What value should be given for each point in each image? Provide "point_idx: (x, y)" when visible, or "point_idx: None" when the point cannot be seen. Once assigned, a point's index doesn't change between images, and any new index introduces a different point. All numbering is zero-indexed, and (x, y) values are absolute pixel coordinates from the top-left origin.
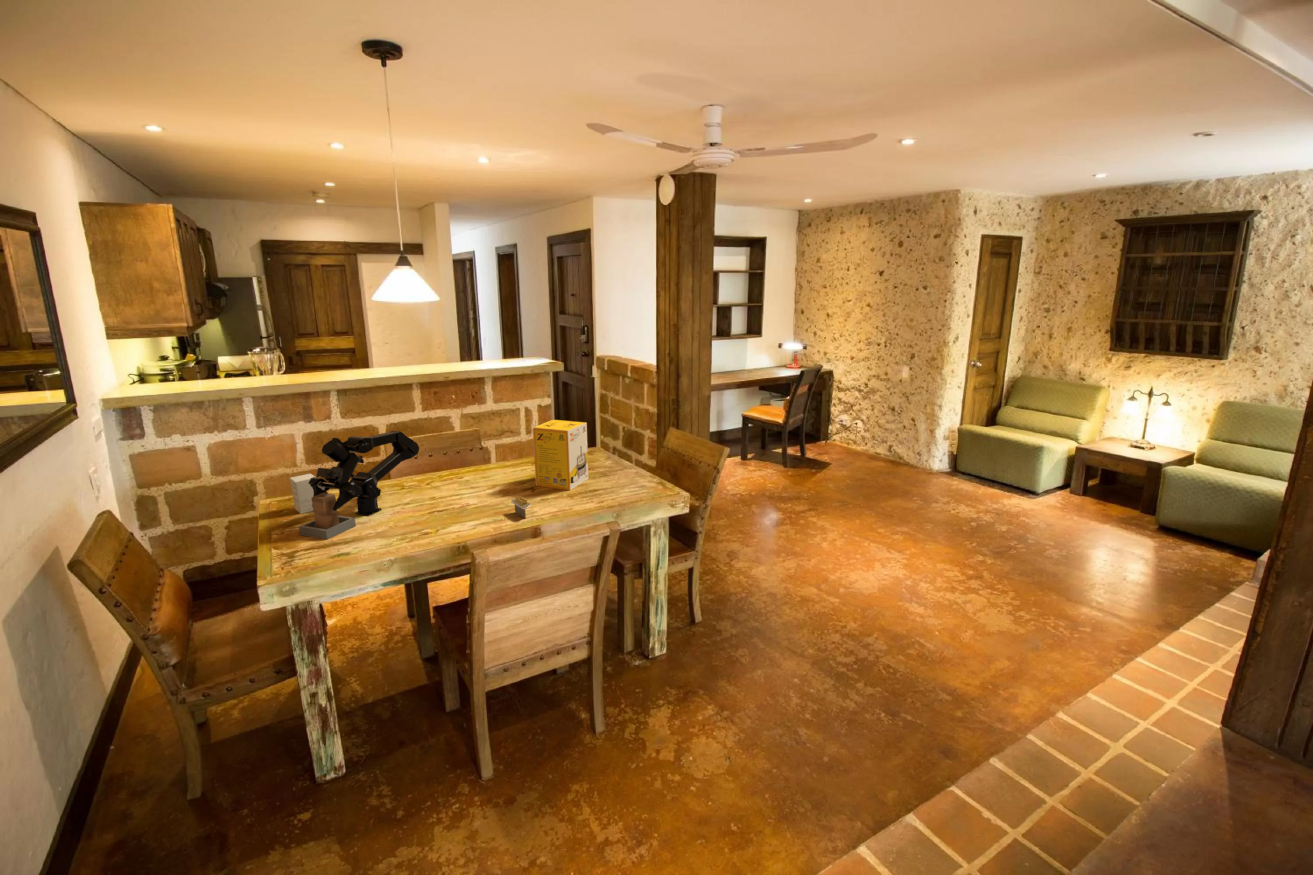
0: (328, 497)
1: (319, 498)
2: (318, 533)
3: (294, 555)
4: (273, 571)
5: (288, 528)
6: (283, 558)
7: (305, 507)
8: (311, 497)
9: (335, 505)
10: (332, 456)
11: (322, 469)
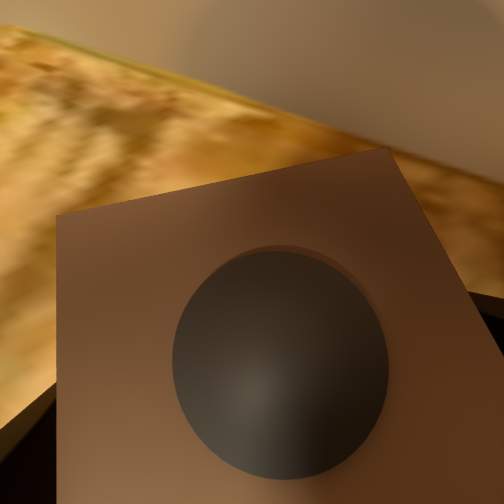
0: (69, 388)
1: (164, 197)
2: None
3: (106, 127)
4: (54, 46)
5: (483, 251)
6: (122, 97)
7: None
8: (385, 150)
9: (7, 427)
10: None
11: None
